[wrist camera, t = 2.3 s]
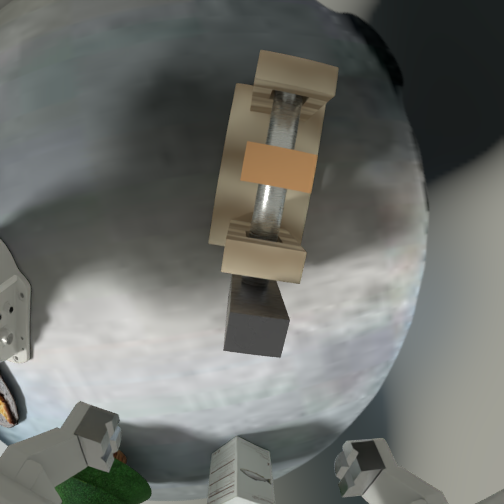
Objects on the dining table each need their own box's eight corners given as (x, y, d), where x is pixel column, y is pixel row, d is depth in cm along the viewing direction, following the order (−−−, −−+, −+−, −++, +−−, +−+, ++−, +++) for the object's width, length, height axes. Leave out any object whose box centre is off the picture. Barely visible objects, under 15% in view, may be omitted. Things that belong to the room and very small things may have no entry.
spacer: (297, 190, 28) (311, 193, 22) (240, 180, 27) (240, 180, 22) (303, 159, 27) (317, 155, 22) (245, 148, 27) (247, 141, 21)
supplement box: (271, 450, 43) (278, 509, 31) (242, 468, 44) (244, 524, 32) (237, 433, 42) (237, 496, 30) (209, 453, 43) (204, 511, 31)
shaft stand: (295, 254, 35) (322, 293, 23) (209, 240, 35) (193, 273, 22) (322, 104, 31) (363, 69, 19) (236, 87, 31) (235, 40, 18)
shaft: (268, 303, 30) (280, 357, 20) (228, 297, 30) (223, 350, 20) (308, 82, 25) (340, 41, 16) (267, 74, 25) (280, 26, 15)
